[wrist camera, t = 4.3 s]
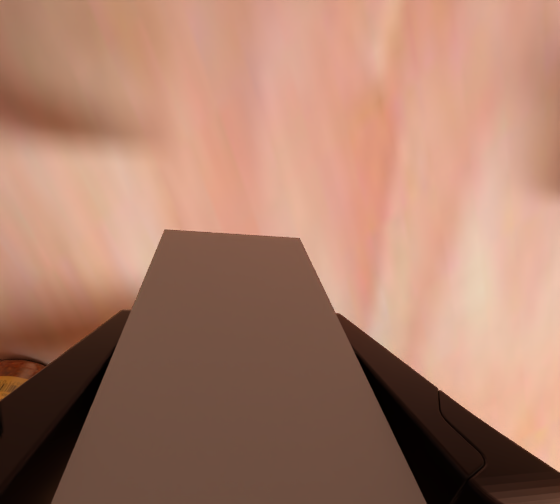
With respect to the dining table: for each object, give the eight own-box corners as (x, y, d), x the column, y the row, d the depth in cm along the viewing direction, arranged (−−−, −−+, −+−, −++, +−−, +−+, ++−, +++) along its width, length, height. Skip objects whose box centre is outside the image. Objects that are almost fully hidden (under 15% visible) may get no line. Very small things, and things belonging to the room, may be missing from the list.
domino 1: (292, 277, 13) (420, 645, 5) (165, 272, 12) (22, 724, 4) (299, 238, 13) (468, 591, 4) (164, 229, 12) (-21, 674, 3)
